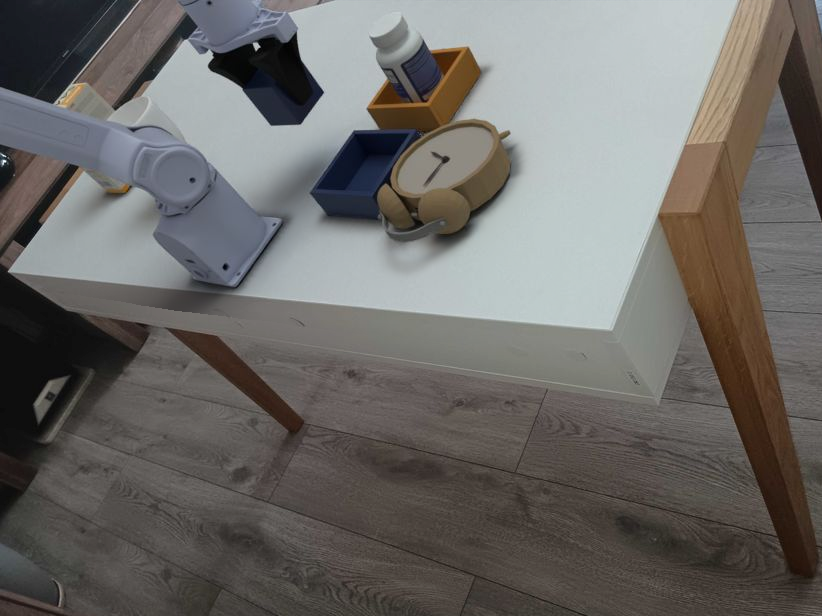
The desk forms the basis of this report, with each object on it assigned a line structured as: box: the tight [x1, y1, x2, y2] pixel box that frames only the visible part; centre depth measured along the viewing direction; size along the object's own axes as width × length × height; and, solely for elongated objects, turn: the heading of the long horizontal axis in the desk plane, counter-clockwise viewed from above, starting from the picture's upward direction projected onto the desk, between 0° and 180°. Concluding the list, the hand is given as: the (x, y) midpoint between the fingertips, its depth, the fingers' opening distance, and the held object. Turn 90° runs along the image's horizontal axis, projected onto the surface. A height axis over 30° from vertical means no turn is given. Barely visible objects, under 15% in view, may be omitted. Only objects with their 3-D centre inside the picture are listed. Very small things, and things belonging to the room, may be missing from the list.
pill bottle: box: [368, 11, 444, 104], centre depth 80 cm, size 5×5×10 cm
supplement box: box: [53, 82, 131, 194], centre depth 105 cm, size 8×5×13 cm, turn 152°
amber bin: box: [365, 46, 482, 132], centre depth 83 cm, size 9×9×3 cm
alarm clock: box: [377, 118, 512, 243], centre depth 71 cm, size 11×5×15 cm
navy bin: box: [309, 129, 422, 220], centre depth 78 cm, size 9×9×3 cm
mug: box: [106, 95, 188, 144], centre depth 94 cm, size 12×8×11 cm
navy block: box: [241, 61, 325, 127], centre depth 80 cm, size 5×5×5 cm
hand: (290, 99), depth 81 cm, fingers closed on navy block, 5 cm apart
